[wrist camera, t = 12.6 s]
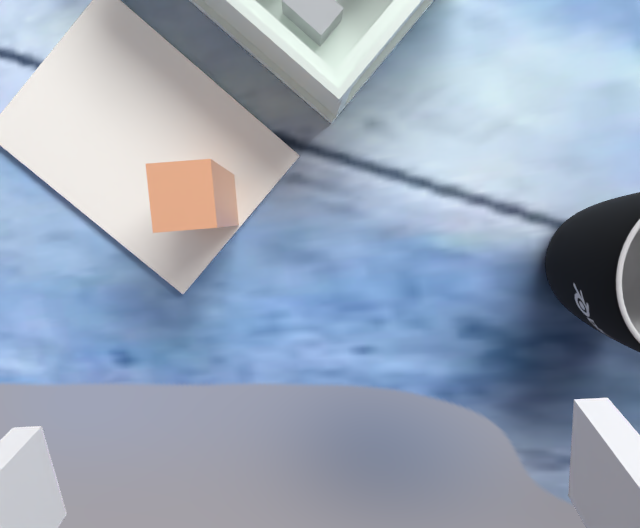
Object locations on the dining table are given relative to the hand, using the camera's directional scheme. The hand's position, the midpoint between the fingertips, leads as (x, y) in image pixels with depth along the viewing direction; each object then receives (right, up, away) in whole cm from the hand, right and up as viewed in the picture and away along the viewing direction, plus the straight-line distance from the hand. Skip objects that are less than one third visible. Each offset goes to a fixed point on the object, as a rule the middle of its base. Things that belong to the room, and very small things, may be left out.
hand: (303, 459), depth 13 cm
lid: (-11, +12, +21) cm, 26 cm away
